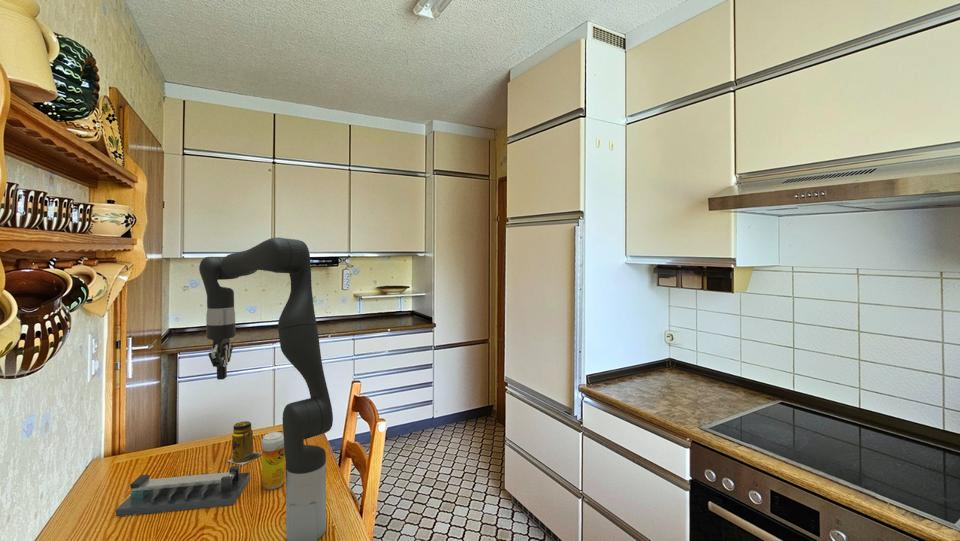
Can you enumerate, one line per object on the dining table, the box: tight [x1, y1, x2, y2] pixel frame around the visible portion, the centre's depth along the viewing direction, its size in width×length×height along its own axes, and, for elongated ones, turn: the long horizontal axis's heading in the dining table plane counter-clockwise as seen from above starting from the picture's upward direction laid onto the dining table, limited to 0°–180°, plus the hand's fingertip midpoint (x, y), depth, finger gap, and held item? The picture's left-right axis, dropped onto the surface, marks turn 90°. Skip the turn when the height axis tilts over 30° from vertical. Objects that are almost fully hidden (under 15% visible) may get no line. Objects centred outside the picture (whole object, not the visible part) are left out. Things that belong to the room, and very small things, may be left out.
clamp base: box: [115, 465, 251, 517], centre depth 120 cm, size 14×28×6 cm, turn 102°
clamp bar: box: [130, 471, 236, 492], centre depth 120 cm, size 5×25×2 cm, turn 102°
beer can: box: [261, 431, 286, 490], centre depth 127 cm, size 6×6×15 cm
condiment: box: [227, 421, 262, 466], centre depth 143 cm, size 7×8×12 cm
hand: (221, 378), depth 129 cm, fingers closed
